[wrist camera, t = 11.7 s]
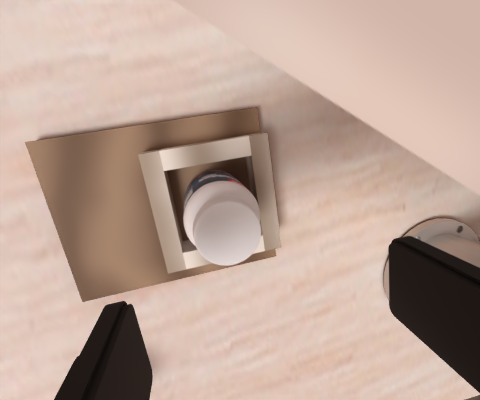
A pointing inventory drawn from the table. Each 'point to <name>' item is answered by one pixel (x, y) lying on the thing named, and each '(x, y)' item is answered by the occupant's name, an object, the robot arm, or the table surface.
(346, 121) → the table surface
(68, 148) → the socket board
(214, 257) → the pill bottle
